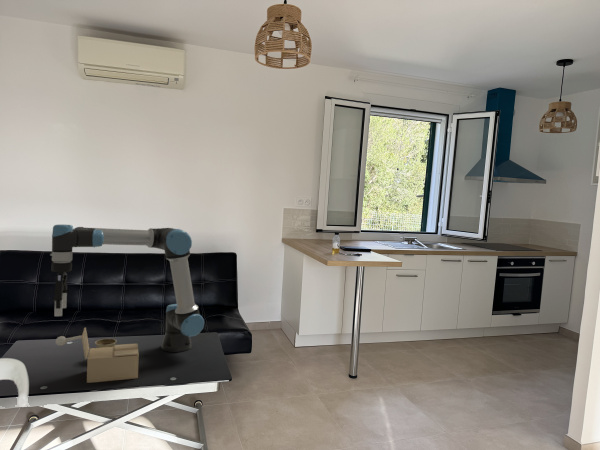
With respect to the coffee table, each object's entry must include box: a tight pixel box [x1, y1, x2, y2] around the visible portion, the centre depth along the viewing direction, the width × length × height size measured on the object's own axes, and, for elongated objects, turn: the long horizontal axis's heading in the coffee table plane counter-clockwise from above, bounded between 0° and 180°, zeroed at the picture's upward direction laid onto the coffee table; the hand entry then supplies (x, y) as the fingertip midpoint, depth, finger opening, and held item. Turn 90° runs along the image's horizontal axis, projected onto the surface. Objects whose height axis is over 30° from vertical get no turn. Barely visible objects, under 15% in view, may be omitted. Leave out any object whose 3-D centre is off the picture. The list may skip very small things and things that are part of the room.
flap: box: [55, 327, 90, 360], centre depth 186 cm, size 10×14×11 cm
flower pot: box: [94, 338, 118, 348], centre depth 209 cm, size 9×9×9 cm
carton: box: [86, 343, 140, 384], centre depth 192 cm, size 20×14×11 cm
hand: (60, 311), depth 183 cm, fingers open, 13 cm apart
